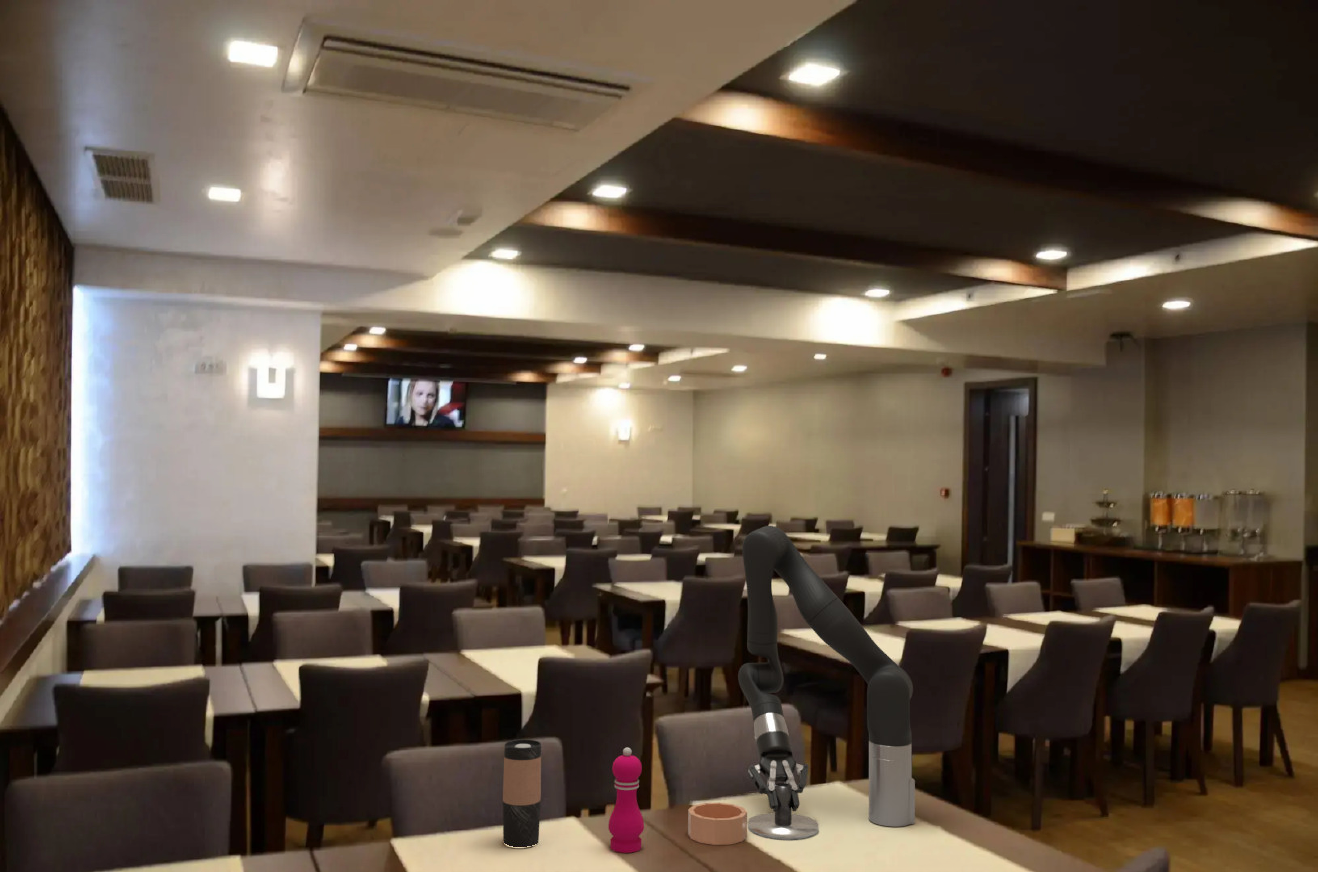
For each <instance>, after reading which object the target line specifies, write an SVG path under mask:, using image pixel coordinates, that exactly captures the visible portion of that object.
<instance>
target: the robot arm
mask: <svg viewBox="0 0 1318 872" xmlns="http://www.w3.org/2000/svg"><path fill="white" fill-rule="evenodd" d="M741 550H742V552H741V553H742V560H743V567H744V574H745V584H746V595H747V637H746V639H747V640H746V641H747V643H746V647H747V651H748V652H749V653H750V654H752V655H754V656H760V657H762V658H763V657H764V658H766V659H767V662H747V663H744V664H742V665H741V667H740V668H739V670H738V674H737V677H738V679H737V680H738V684H739V686H740V689H741V691H742V693H743V695H744V697H745V698H746V700H747V702H748V705H749V707H750V710H751V714H752V715H751V716H752V721H753V726H754V727H753V729H754V730H753V731H754V732H753V733H754V741H755V744H756V748H757V753H758V754H757V756H758V760H759V761H758V764H756V765H754V764H750V765H749V768H748V771H747V774H748V776H749V778H750V780H751V781H752V783H753V785H754V787H755V788H756V790H757V793H758V794H760V795H763V794H764V795H766V796H767V799H768V804H769V808H770V809H771V810H773V813H775V812H777V810H778V801H777V796H776V791H775V784H776V783H778V782H781V783H787V784H790V785H792V812H797V810H798V809H799V806H800V798H799V794H802V793H803V791H804V788H805V786H806V782H807V778H808V772H809V768H810V767H809V764H807V763H803V764H799V763H797V761H796V759H795V758H794V754H793V750H792V749H793V748H792V744H791V739H790V734H789V731H788V726H787V723H786V720H785V716H784V711H783V706H782V705H783V704H782V701H781V700H780V698H779V697H778V696H777V695H775V693H778V692H780V691H781V690H782V688H783V686H784V675H783V674H784V673H783V670H782V666H781V664H780V658H779V652H778V627H779V625H778V622H779V621H778V614H777V608H776V606H775V602H774V598H773V589H772V587H773V586H772V584H773V583H772V582H773V575H774V571H775V572H776V573H777V575H779V576H780V578H781V579H782V580H783V582H785V584H786V586H788V589H789V590H790V592H791V594H792V597H793V599H794V602H795V605H796V606H797V608H798V611H799V613H800V615H801V616H802V618H803V620H804V621H805V622H806V623H807V624H808V626H809V627H810V628H811V629H812V630H813V631H814V633H815V634H816V635H817V636H818V637H819V639H821V640H822V641H823V642H824V643H825V644H826V645H827V646H828V647H829V648H831V649H832V650H833V651H835V652H836V653H838V654H839V655H840V656H841V657H843V658H844V659H846V660H847V661H848V662H849V663H850V664H851V665H852V666H853V668H855V669H856V670H857V672H858V673H859V674H860V676H862V678H863V679H864V681H865V682H866V684H867V689H866V690H867V692H866V698H867V699H866V708H867V709H866V711H867V713H866V719H867V731H868V820H869V821H870V822H872V823H873V824H876V825H880V826H884V827H894V828H895V827H896V828H897V827H905V826H909V825H914V824H916V817H915V816H916V812H915V811H916V810H915V809H916V794H915V793H916V787H915V784H916V780H915V779H914V778H913V777H912V730H911V721H910V720H911V715H910V714H911V711H910V710H911V704H910V703H911V702H910V701H911V699H912V696H913V692H914V688H913V687H914V685H913V681H912V679H911V677H910V675H908V673H907V672H906V671H905V670H904V669H903V668H902V667H900V666H899V664H898V663H896V662H895V661H894V660H893V659H892V658H891V657H890V656H889V655H888V654H887V653H886V652H884V651H883V649H882V648H880V647H879V645H877V643H876V642H875V640H874V639H873V638H872V637H871V636H870V634H869V633H868V632H867V631H866V629H865V628H864V627H863V625H862V624H861V623H860V622H859V621H858V619H857V618H856V617H855V616H854V614H853V613H852V612H851V610H850V609H849V608H848V607H847V606H846V605H845V604H844V602H842V600H841V599H840V598H839V597H838V596H837V595H836V594H835V592H833V590H832V589H831V588H830V587H829V586H828V585H827V584H826V583H825V581H824V580H823V579H822V578H821V577H820V576H819V575H818V573H817V572H815V571H814V569H813V568H812V567H811V566H810V565H809V563H807V561H806V560H805V558H804V557H803V555H802V554H801V553H800V551H799V550H798V549H797V547H796V546H795V545H794V543H793V541H792V540H791V538H790V537H789V535H787V534H786V532H784V531H783V530H782V529H781V528H779V527H778V526H774V525H765V526H762V527H760V528H757V529H755V530H753V531H751V532H750V533H748V534H747V535H746V536H745V538H744V539H743V541H742V549H741ZM795 770H796V771H797V775H798V776H799V779H798V784H797V782H796V781H795V777H794V774H793V773H794V772H795ZM760 773H761V774H763V775H764V776H765V777H766V778H767V783H765V782H764V780H763V778H762V776H761V775H760Z"/></svg>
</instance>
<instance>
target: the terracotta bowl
mask: <svg viewBox="0 0 1318 872" xmlns="http://www.w3.org/2000/svg"><path fill="white" fill-rule="evenodd" d="M687 811H688V812H687V813H688V815H687V817H688V819H687V821H688V822H687V834H688V837H689V839H691V840H693V841H695V842H697V843H700V844H707V845H713V846H723V845H724V846H725V845H735V844H738V843H742V842H744V840H746V838H748V811H747V810H746V809H745V808H744V807H742V806H739V805H738V804H734V803H726V802H703V803H699V804H694V805H692V806H691V807H690V808H688V810H687Z"/></svg>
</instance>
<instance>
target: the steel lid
mask: <svg viewBox="0 0 1318 872" xmlns="http://www.w3.org/2000/svg"><path fill="white" fill-rule="evenodd" d="M774 791H776V796H777V801H778V810H777V812H767V813H760V814H756V815H754V816H752V817H749V819H747V830H748V831H749V832H751V834H753V835H756V836H758V837H761V838H764V839H770V840H774V841H775V840H777V841H800V840H801V841H802V840H806V839H810V838H813V837H816V835H818V833H819V823H818V821H816V820H814V819H813V818H811V817H809V816H805V815H801V814H797V813H792V812H793V811H792V785H790V784H787V783H784V782H780V783H779V782H777V783H775V787H774Z"/></svg>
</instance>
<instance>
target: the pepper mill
mask: <svg viewBox="0 0 1318 872" xmlns="http://www.w3.org/2000/svg"><path fill="white" fill-rule="evenodd" d="M632 752H633V751H632V749H631V748H630V747H625V748H623V750H622V755H619V756H617V758H615V760H614V761H613V763H612V768H611V770H612V774H613V776H614V777H615V779H614V788H615V789H616V801H615V805H614V808H613V810H612V811H611V814H610V816H609V820H608V827H607V828H608V831H609V833H610V834H611V835H612V836H611V838H610V849H611V850H612V851H613V852H616V853H622V854H629V853H636V852H639V851H641V849H642V838H641V837H640V836H641V834H642V833H644V829H645V821H644V818H643V815H642V813H641V810H640V807H639V805H638V800H637V799H638V798H637V791H638V788H639V787H640V785H639V783H640V780H639V779H638V778H639V777H641V774H642V772H643V771H642V770H643V767H642V766H643V765H642V762H641V761H640V759H639V758H638V757H637V756H635V755H632Z"/></svg>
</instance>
